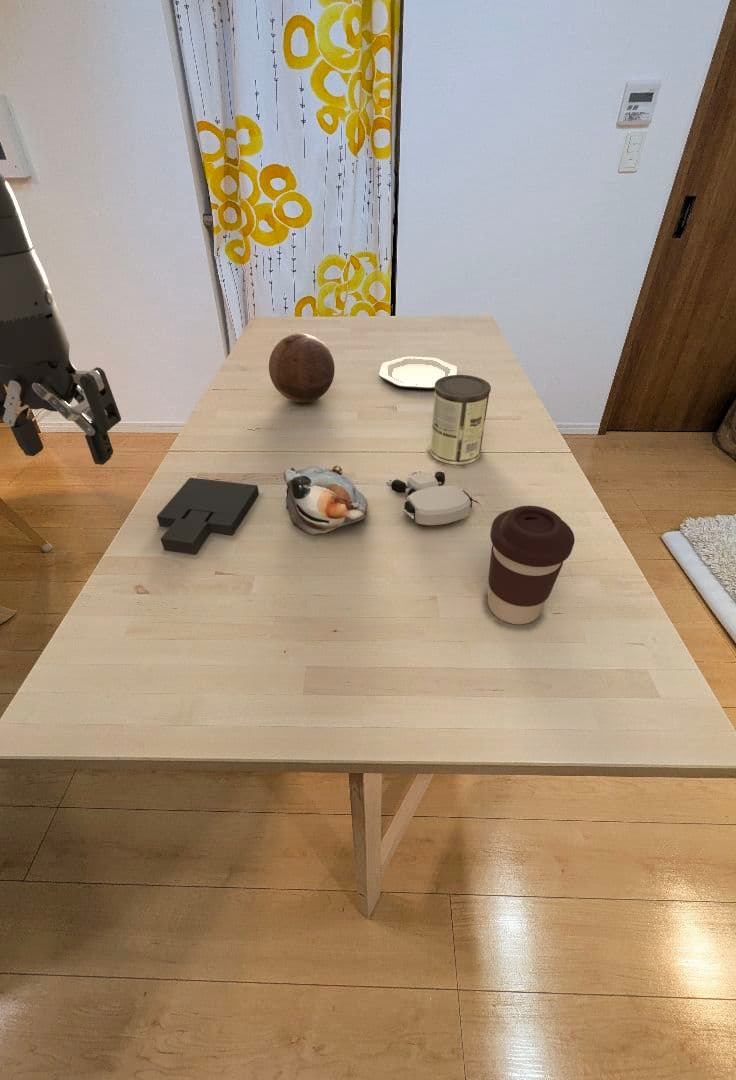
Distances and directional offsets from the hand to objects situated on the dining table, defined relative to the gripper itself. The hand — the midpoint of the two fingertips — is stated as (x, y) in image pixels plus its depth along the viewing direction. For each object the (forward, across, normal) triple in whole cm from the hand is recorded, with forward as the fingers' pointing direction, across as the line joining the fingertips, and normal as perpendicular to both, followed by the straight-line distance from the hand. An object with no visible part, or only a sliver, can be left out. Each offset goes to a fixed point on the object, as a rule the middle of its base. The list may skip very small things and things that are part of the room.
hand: (69, 457), depth 59 cm
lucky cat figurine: (+22, +24, +23) cm, 40 cm away
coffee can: (+22, +43, +50) cm, 70 cm away
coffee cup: (+22, +54, +9) cm, 59 cm away
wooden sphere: (+22, +7, +68) cm, 72 cm away
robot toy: (+22, +40, +30) cm, 55 cm away
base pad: (+23, +3, +22) cm, 32 cm away
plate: (+21, +32, +87) cm, 95 cm away
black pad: (+23, +3, +15) cm, 28 cm away
